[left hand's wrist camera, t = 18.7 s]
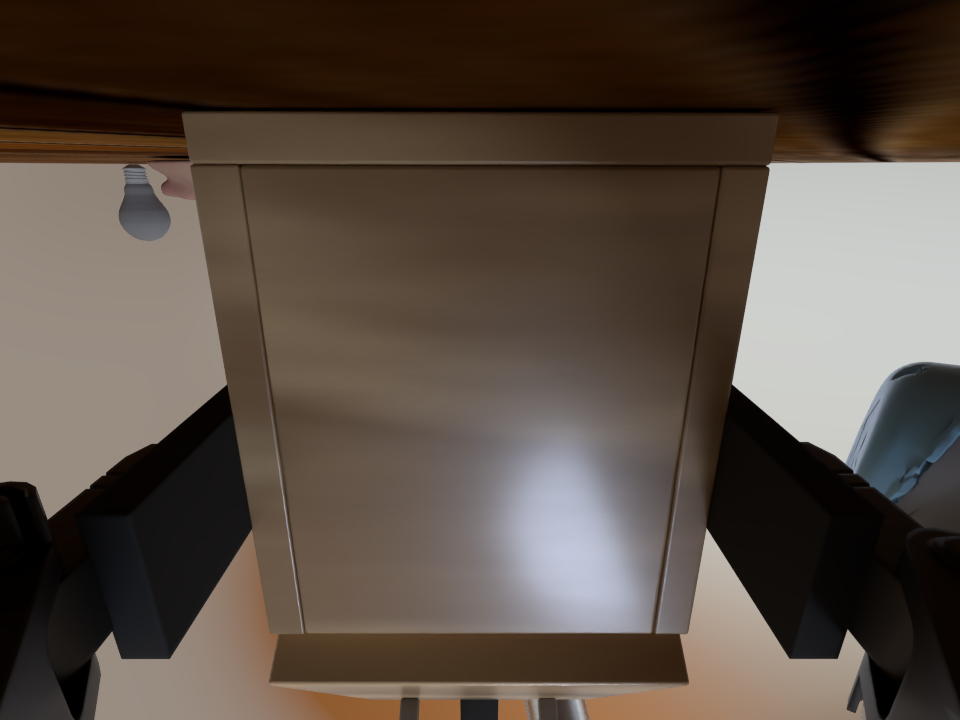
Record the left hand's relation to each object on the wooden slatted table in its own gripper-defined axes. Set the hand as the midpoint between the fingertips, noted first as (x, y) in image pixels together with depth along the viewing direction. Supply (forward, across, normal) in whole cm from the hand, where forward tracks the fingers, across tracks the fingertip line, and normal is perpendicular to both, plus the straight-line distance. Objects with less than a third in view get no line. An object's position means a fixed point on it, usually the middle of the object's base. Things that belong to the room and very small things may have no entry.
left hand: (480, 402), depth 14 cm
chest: (+3, 0, -7) cm, 7 cm away
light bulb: (+61, +46, -7) cm, 77 cm away
